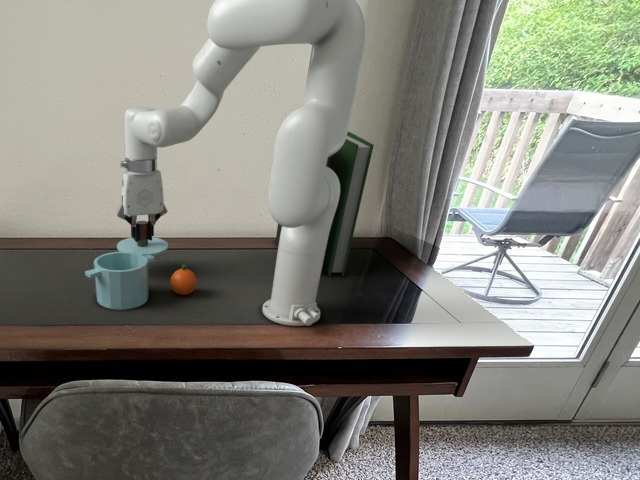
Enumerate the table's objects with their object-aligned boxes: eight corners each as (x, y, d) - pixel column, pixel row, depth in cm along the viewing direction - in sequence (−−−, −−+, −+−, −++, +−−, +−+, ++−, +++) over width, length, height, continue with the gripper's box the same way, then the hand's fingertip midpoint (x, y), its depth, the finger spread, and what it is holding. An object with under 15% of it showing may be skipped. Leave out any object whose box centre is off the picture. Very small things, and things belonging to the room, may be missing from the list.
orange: (199, 297, 116) (201, 268, 111) (174, 300, 114) (175, 271, 110) (191, 287, 121) (192, 259, 117) (167, 290, 119) (167, 261, 115)
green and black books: (346, 276, 125) (377, 144, 107) (289, 275, 126) (310, 145, 108) (321, 241, 148) (343, 128, 130) (273, 241, 149) (288, 129, 131)
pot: (167, 297, 116) (167, 260, 111) (103, 317, 107) (101, 278, 102) (138, 280, 125) (137, 245, 120) (77, 298, 116) (74, 261, 111)
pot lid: (178, 251, 124) (179, 223, 120) (135, 262, 118) (134, 234, 114) (148, 237, 134) (148, 211, 130) (107, 247, 127) (106, 220, 123)
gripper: (111, 170, 110) (114, 247, 120) (178, 166, 113) (176, 241, 123) (105, 164, 116) (109, 238, 126) (169, 160, 119) (168, 232, 129)
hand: (142, 239), depth 124 cm, fingers closed on pot lid, 3 cm apart
